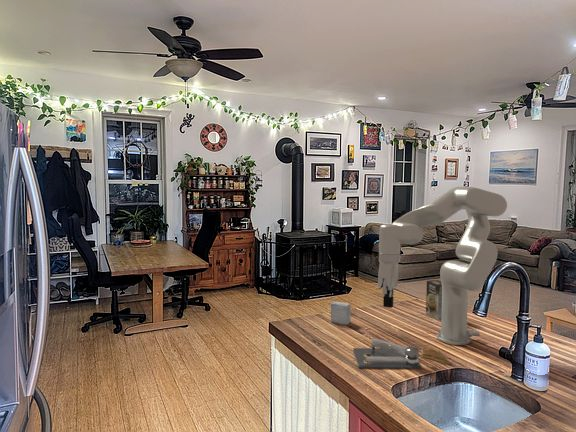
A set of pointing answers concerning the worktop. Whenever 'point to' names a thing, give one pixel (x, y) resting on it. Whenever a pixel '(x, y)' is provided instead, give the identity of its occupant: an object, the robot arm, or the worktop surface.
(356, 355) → the divider base plate
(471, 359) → the worktop surface
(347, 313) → the medicine box
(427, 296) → the coffee box
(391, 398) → the worktop surface
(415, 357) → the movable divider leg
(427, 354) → the shard
